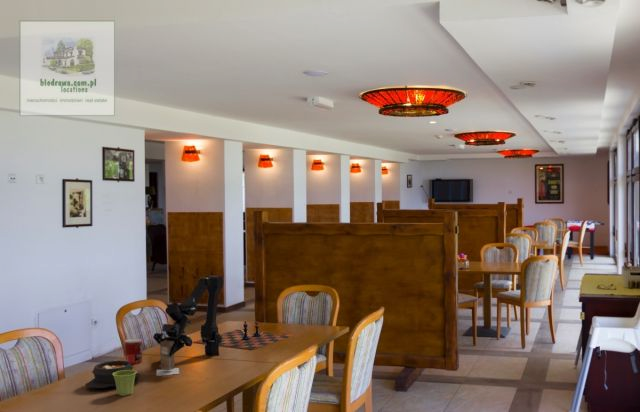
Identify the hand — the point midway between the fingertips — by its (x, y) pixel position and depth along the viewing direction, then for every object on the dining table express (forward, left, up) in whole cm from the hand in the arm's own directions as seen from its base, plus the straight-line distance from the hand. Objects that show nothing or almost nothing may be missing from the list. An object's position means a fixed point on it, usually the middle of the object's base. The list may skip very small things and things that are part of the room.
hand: (165, 355), depth 308 cm
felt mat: (-1, -1, -8) cm, 8 cm away
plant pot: (+16, +28, -8) cm, 33 cm away
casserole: (+22, +11, -8) cm, 26 cm away
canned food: (+15, -25, -8) cm, 30 cm away
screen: (+1, -18, -8) cm, 20 cm away
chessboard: (-43, -60, -9) cm, 74 cm away
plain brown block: (-1, -1, -7) cm, 7 cm away
